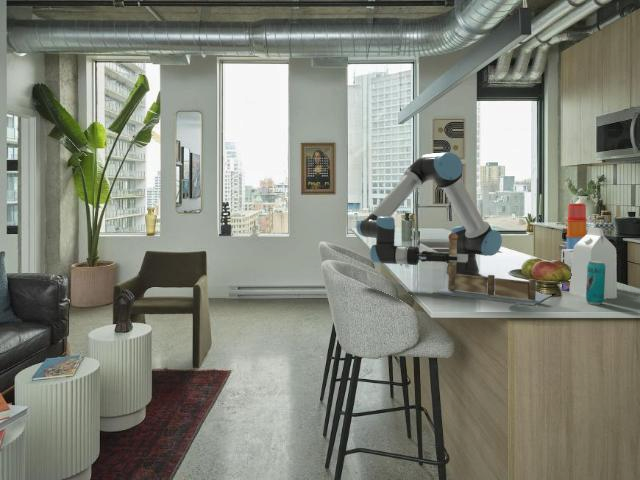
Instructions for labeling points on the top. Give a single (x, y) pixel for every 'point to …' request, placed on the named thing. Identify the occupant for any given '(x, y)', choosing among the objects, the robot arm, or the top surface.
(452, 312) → the top surface
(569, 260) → the candy box
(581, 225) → the stacking cups
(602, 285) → the beverage can
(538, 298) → the card
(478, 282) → the folding fence panel
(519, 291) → the fence fixed
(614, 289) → the milk
